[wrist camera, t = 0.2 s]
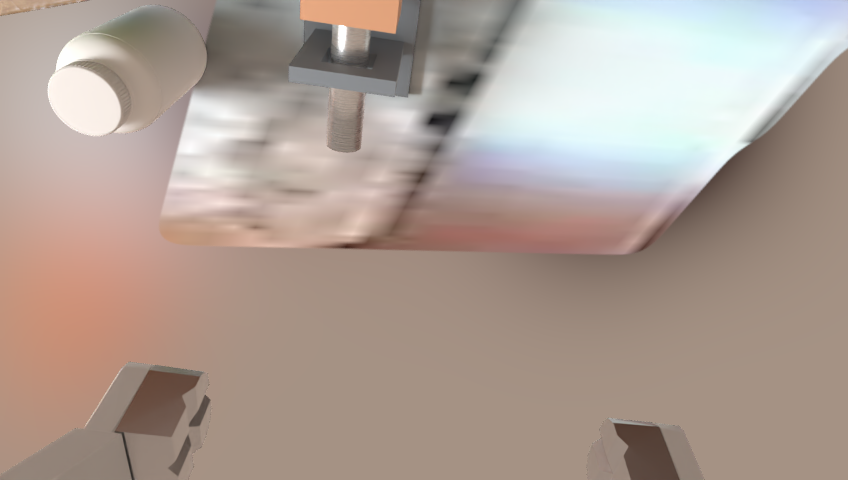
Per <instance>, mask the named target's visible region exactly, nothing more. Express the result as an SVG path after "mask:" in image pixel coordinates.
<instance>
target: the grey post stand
mask: <svg viewBox="0 0 848 480" xmlns="http://www.w3.org/2000/svg"><path fill="white" fill-rule="evenodd" d="M420 1H421V0H402V6H401V14H400V18H399V22H398V26H397V30H396V34H393V33H387V32H380V31H374V30H371V38H370V50H369V61H368V69H366V68H359V67H353V66H346V65H339V64H332V63H331V44H332V24H327V23H321V22H314V21H308V20H304V45H303V47H302V48H301V49H300V51H299V52H298V54H297V55H296V56H295V58H294V59H293V61H292V62H291V63H290V65H289V82H294V83H301V84H308V85H315V86H322V87H329V88H336V89H343V90H349V91H356V92H363V93H370V94H377V95H384V96H391V97H395V96H402V97H408V93H409V86H410V78H411V70H412V63H413V55H414V47H415V40H416V32H417V24H418V17H419V9H420Z"/></svg>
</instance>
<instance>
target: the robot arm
mask: <svg viewBox="0 0 848 480" xmlns="http://www.w3.org/2000/svg"><path fill="white" fill-rule="evenodd" d="M208 386H209V379H208V373H206V372H200V371H193V370H187V369H180V368H173V367H165V366H159V365H150V364H142V363H134V362H128V363H127V364H126V365H125V366H123V367H122V368H121V370H120V371H119V373H118V375H117V376H116V378H115V379H114V381H113V382H112V384H111V386H110V387H109V389H108V390H107V392H106V394H105V395H104V397H103V398H102V400H101V402H100V403H99V405H98V406H97V408H96V410H95V411H94V413H93V414H92V416H91V418H90V419H89V421H88V422H87V424H86V425H85V427H84V429H78V428H77V429H76V428H75V429H73V430H72V431H70V432H68V433H67V434H65V435H64V436H62V437H60V438H59V439H57V440H56V441H54V442H52V443H51V444H49V445H47V446H46V447H44V448H43V449H41V450H39V451H38V452H36V453H35V454H33V455H31V456H30V457H28V458H26V459H25V460H23V461H22V462H20V463H18V464H17V465H15V466H13V467H12V468H10V469H9V470H7V471H5V472H4V473H2V474H1V475H0V480H189V477H190V475H191V472H192V470H193V468H194V464H193V455H192V454H193V453H194V452H196V450H198V449H200V448H201V447H202V445H203V443H204V440H205V438H206V435H207V431H208V427H209V423H210V418H211V400H210V399H209V398H208V397H207V396H206V395H205V393H206V391H207V389H208ZM599 431H600V434H601V438H600V439H599V440H597V441H595V442H594V443H592V446H591V448H590V451H589V453H588V460H587V476H588V480H705V479H704V477H703V474H702V472H701V470H700V467H699V465H698V463H697V461H696V458H695V456H694V454H693V451H692V449H691V447H690V445H689V442H688V440H687V437H686V435H685V433H684V430H683V429H681V427H680V426H675V425H666V424H657V423H652V422H642V421H632V420H623V419H613V418H607V419H606V420H605V421H603V423H602V425H601V427H600V429H599Z"/></svg>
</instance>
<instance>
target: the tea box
mask: <svg viewBox="0 0 848 480" xmlns="http://www.w3.org/2000/svg"><path fill="white" fill-rule="evenodd" d="M83 1H88V0H0V16H2V15H9V14H15V13H20V12H27V11H33V10H39V9H45V8H50V7H55V6H61V5H66V4H71V3H77V2H83Z"/></svg>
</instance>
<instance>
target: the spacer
mask: <svg viewBox="0 0 848 480" xmlns="http://www.w3.org/2000/svg"><path fill="white" fill-rule="evenodd" d="M401 6H402V0H300V19H301V20H308V21H314V22H321V23H327V24H334V25H341V26H347V27H354V28H360V29H367V30H374V31H380V32H387V33H393V34H396V30H397V26H398V22H399V18H400V14H401Z"/></svg>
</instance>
